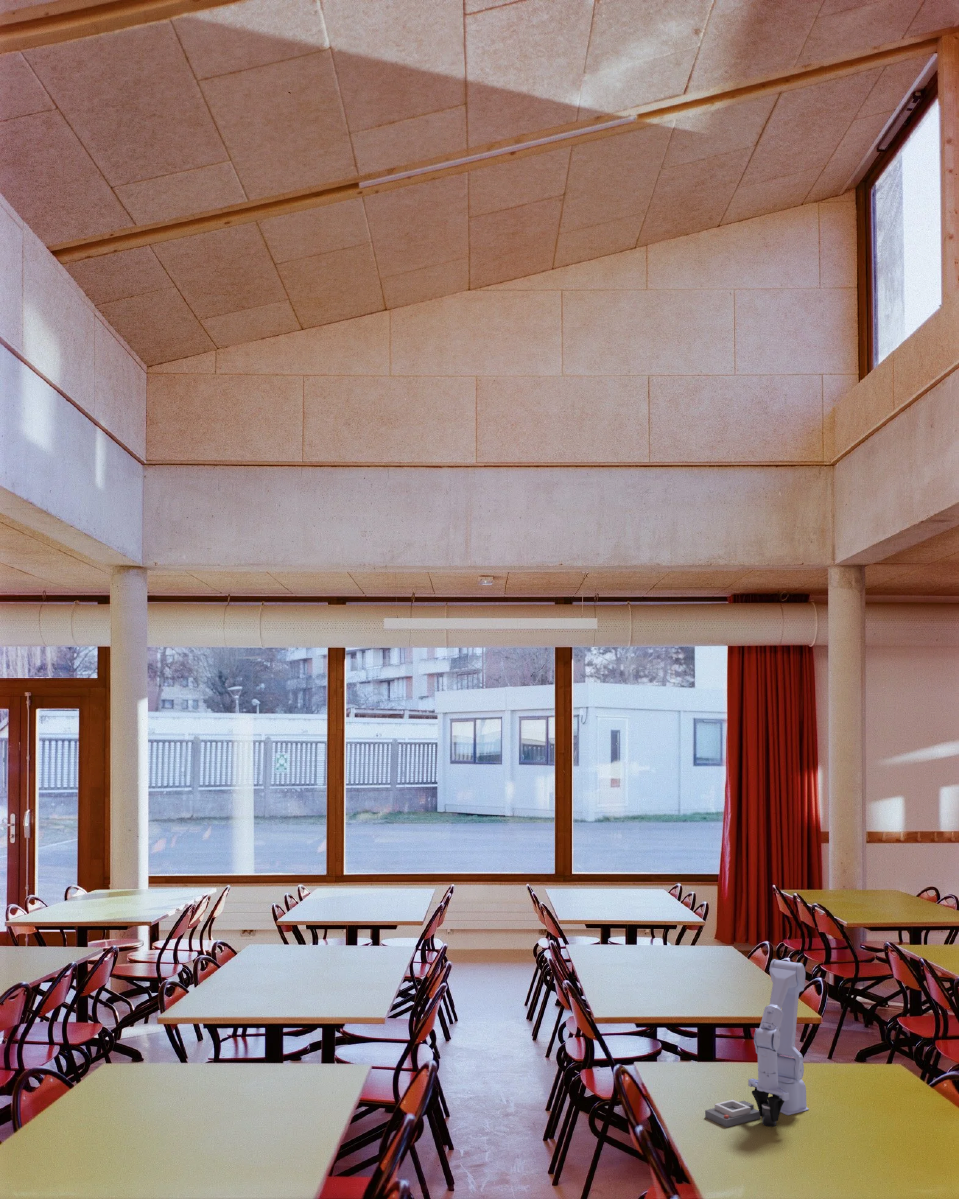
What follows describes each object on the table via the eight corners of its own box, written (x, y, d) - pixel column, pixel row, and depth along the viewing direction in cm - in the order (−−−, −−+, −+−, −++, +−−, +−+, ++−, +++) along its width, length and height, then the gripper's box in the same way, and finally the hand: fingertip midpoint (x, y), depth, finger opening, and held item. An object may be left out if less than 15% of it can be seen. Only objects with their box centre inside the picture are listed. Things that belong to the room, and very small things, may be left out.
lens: (769, 1120, 305) (768, 1099, 306) (779, 1125, 302) (778, 1103, 303) (759, 1123, 303) (758, 1102, 304) (769, 1127, 300) (768, 1106, 301)
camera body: (738, 1108, 315) (738, 1096, 315) (760, 1118, 307) (760, 1106, 307) (705, 1117, 308) (705, 1105, 308) (726, 1127, 300) (726, 1114, 300)
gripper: (740, 1065, 309) (741, 1112, 307) (776, 1080, 296) (778, 1129, 295) (757, 1062, 312) (758, 1108, 311) (793, 1076, 300) (795, 1124, 298)
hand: (769, 1118), depth 303 cm, fingers closed on lens, 4 cm apart
